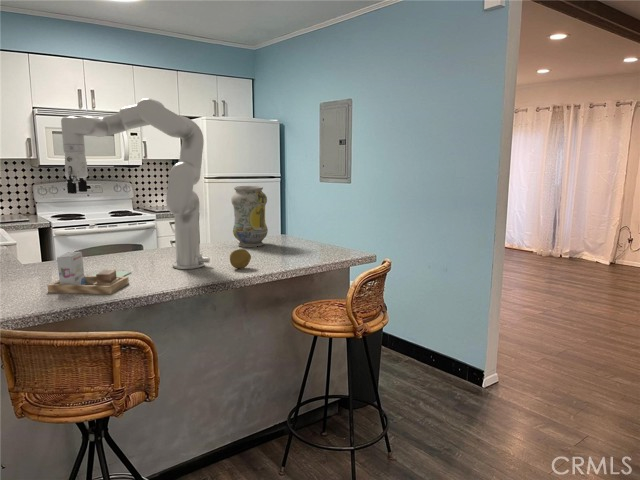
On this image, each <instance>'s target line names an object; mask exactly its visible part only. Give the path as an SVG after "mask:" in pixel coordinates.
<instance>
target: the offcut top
mask: <svg viewBox="0 0 640 480" xmlns="http://www.w3.org/2000/svg"><path fill="white" fill-rule="evenodd" d="M116 271H117V270H116V269H103V270H101V272H100V271H99V273H98V272H97V273H98V274H96V273H95V274H96V280H97V283H111V282H112V281H114V280H115V279H116Z"/></svg>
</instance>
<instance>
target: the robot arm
mask: <svg viewBox="0 0 640 480" xmlns="http://www.w3.org/2000/svg"><path fill="white" fill-rule="evenodd" d="M60 123H61V124H60V125H61V136H62V147H63V149H62V150H63V154H64V176H65V177H64V178H65V180H66V181H65V182H66V188H67V194H69V195H70V194H77V193H78V192H80V193H82V192H83V193H86V192H88V183H87V182H88V179H87V178H88V176H89V172H88V163H87V162H88V161H87V158H86V148H85V147H86V146H85V136H87V137H97V138H101V137H102V138H103V137H108V136H112V135H117V134H121V133H123V132H127V131H129V130H133V129H137V128H141V127H147V126H151V127H153V128H155V129H157V130H158V131H160V132H162V133H164V134H165V135H167V136H170V137H172V138H177V139H180V140H181V142H182V143H181V147H180V152H179V160H178V162H177V163H175V164H174V165H173V166H172V167H171V169H170V171H169V173H168V181H167V188H166V190H167V191H166V196H165V197H166V207H167V209H168V211H169V212H170V213H171V214H173V215H174V239H175V262H172V265H171V266H172V268H174V269H175V270H176V269H177V270H179V269H180V270H194V269H199V268H201V267H204V266H205V264H206V263H207V264H208V263H211V259H210V257H209V256H208V257H207V256H205V257H204V256H203V254H202V253H201V249H200V248H201V247H200V198H199V195H198V194H197V193H196V192H195V191H194V190H193V189H194V186H195V185H197V184H198V183H199V182H200V179H201V171H202V164H203V153H204V152H203V151H204V143H205V142H204V141H205V140H204V134H203V131H202V129H201V128H200V126H199V125H198V124H197V123H196V122H195V121H193V120H192V119H190V118H189V117H186V116H184V115H180V114H177V113H175V112H174V111H172V110H170V109H168V108H166V107H165V105H164V104H163V103H162V102H161V101H159V100H156V99H153V98H148V97H147V98H146V97H145V98H142V99H141V100H139V101H138V102H137V104H133V105H128V106H127V105H126V106H124V107H121V108H120V109H119V111H118V112H117V113H115V114H111V115H107V116H103V117H96V116H90V115H83V116H63V117H62V118H61V121H60ZM76 179H77V180H78V181H77V182H76ZM77 185H78V189H77ZM77 190H78V191H77Z"/></svg>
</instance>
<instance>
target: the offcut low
mask: <svg viewBox="0 0 640 480" xmlns="http://www.w3.org/2000/svg"><path fill="white" fill-rule="evenodd" d="M118 280H119V278H116V279H115V280H114V281H112V282H111V283H97V282H96V283H94V284H93V285H104V286H108V285H110V284H112V283H114V282H116V281H118Z"/></svg>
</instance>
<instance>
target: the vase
mask: <svg viewBox="0 0 640 480" xmlns="http://www.w3.org/2000/svg"><path fill="white" fill-rule="evenodd" d="M263 188H264V187H263V186H262V185H261V186H260V185H241V186H240V185H239V186H234V187H233V189H234V191H235V192H234V193H233V194H232V196H231V204H232V206H233V214H234V215H233V217H234V225H233V229H232V234H233V236H234V238H235V239H237V240H238V241H239V242H238V244H237V245H238V246H239V247H242V248H257V246H258V247H262V246H263V245H264V243H263V241H264V240H265V238H266V237H267V236H268V230H269V229H268V226H267V224H266V204H267V202H268V196H267V195H266V193H264V192H263Z"/></svg>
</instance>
